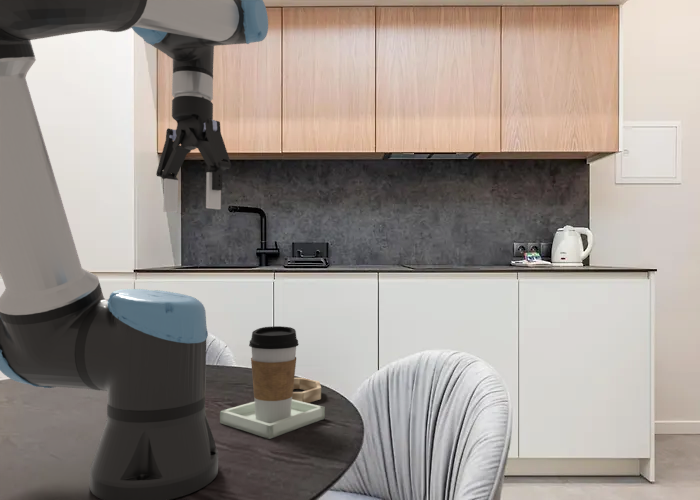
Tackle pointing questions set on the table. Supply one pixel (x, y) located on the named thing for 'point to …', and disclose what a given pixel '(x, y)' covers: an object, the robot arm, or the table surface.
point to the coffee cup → (273, 371)
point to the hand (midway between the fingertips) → (191, 210)
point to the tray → (247, 421)
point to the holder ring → (311, 390)
